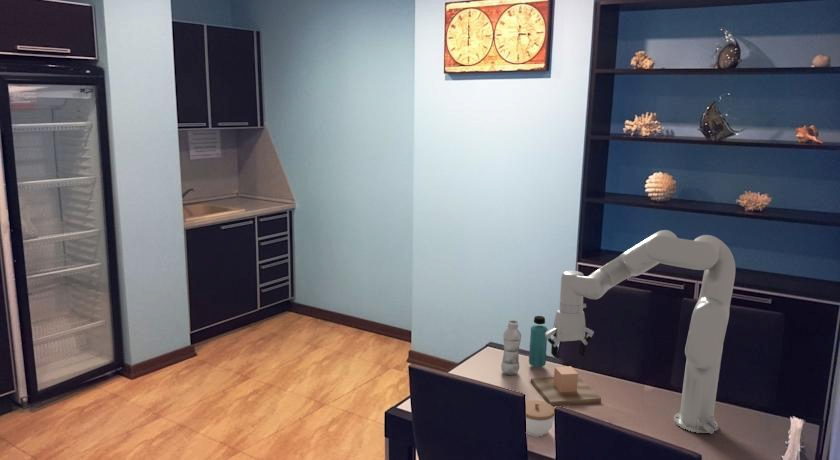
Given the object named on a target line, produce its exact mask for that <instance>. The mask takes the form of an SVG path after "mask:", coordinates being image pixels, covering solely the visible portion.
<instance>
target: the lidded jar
mask: <svg viewBox="0 0 840 460" xmlns="http://www.w3.org/2000/svg"><path fill="white" fill-rule="evenodd" d="M525 401H526V423H527V433H526V435H529V436H530V437H535V438H539V436H541V437H544V436H545V435H546V434H547V433H549V431H550V430H551V428H552V427H553V424H554V419H555V415H554V409H555V408H554V406H551V405H550V404H548V403H547V401H542V400H538V399H537V400H536V399H530V400H525ZM544 434H545V435H544ZM543 435H544V436H543Z"/></svg>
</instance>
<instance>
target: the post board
mask: <svg viewBox="0 0 840 460" xmlns="http://www.w3.org/2000/svg"><path fill="white" fill-rule="evenodd" d="M530 383H531V385H532V386H533V387H534V389H536V391H538V393H539V394H540V395H541V396H542V398H543V399H544V400H545V402H546V403H548V404H550V405H551V406H553V407H554V406H568V405H581V404H593V403H594V404H596V403H601V402H602V398H601V397H600V395H598V393H596V392H595V391H594V389H592V388H591V387H590V386H589V384H587V383H586V381H584V380H583V378H581V377H580V376H579V375H578V384H577V391H573V392H560V391H559V390H558V389H557V388H556V387H555V386H554V385H553V384H554V376H548V377H532V378H530Z"/></svg>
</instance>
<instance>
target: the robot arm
mask: <svg viewBox="0 0 840 460" xmlns="http://www.w3.org/2000/svg"><path fill="white" fill-rule="evenodd" d="M732 253H733V252H732V251H731V250H730V248H729V247H728V245H727V244H725V243H724V241H722V240H721V239H720V238H718V237H716V236H713V235H709V234H702V235H699V236H698V237H696V238H694V240H693V239H686V238H679V237H677V235H676V234H675V233H674V232H672V231H671V230H668V229H664V230H663V229H662V230H661V229H660V230H658V231H657V232H655V233H653V234H651V235H650V236H649V237H647V238H645V239H644V240H642V241H640V242H639V243H637V244H635V245H634V246H632V247H631V248H629V249H627V250H626V251H624V252H623V253H621V254H620V255H619V256H617V257H616V258H614V259H612V260H611V261H609V262H607V263H606V264H604V265H603V266H602V267H600V268H598V269H597V270H595V271H593V272H591V273H590V274H589V275H586V276H585V275H584V273H583V272H581V271H577V270H565V271H564V272H562V274H561V279H560V281H561V282H560V297H559V309H557V310H556V313H555V317H554V321H553V328H552V329H549V330H548V331H547V332H546V333H545V336H546V338H547V342H548V343H550V344H551V348H550V349H551V350H550V352H551V355H552V356H553V357H554V359H557V358H558V357H559V346H558V345H559V344H560V342H573V341H579V343H578V352H577V353H578V354H579V355H580V356H581V357H584V356H585V353H586V348H587V347H586V346H587V345H588V342H589V341H591V339H592V337H593V336H594V333H595V331H594V330H592V329H590V328H588V327H587V326H586V317H585V312H584V311H583V310H584V309H585V308H587V303H584V298H587V299H589V300H598V299H601V297H603V296H604V295H605V294H606V293H607V292H608V291H609V290H610V289H612V288H613V287H615V286H616V285H618V284H620V283H621V282H623V281H625V280H627V279H629V278H631V277H637V276H638V277H639V276H640V275H642V274H644V273H646V272H647V271H649V270H651V269H652V268H654V267H655V266H657V265H659V264H661V265H662V264H663V265H667V266H672V267H677V268H685V269H690V270H695V271H696V270H697V271H703V275H702V282H701V288H700V292H699V296H698V299H697V302H696V304H695V306H694V307H693V311H692V314H691V319H690V323H689V327H688V328H689V329H688V333H687V338H686V344H685V348H684V354H685V357H686V362H685V368H684V369H685V370H684V377H683V384H682V393H681V401H680V409H679V412H676V413H675V414H674V417H673V421H674V423H675V424H676V425H677V426H678V427H679V426H680V428H681V429H683V430H685V429H686V431H687V430H688V432H690V431H691V433H694V432H696V433H695V434H699V433H710V435H712V434H715V432H714V431H716V430H717V431H718V430H719V428H720V427H719V425H718V423H717V421H716V417H715V416H714V414H715V407H716V400H717V399H716V398H717V392H718V383H719V378H720V370H721V362H722V356H723V348H724V342H725V337H726V333H727V327H728V323H729V318H730V306H731V301H732V296H733V290H734V284H735V279H736V262H735V261H736V260H735V259H734V258H735V257H734V255H733V254H732ZM586 333H587V334H586ZM551 336H553V338H552V337H551ZM717 431H716V432H717Z"/></svg>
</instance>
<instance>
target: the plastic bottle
mask: <svg viewBox="0 0 840 460" xmlns="http://www.w3.org/2000/svg"><path fill="white" fill-rule="evenodd" d="M506 327H507V328H506V330H504V332H503V334H502V336H503V337H502V338H503V339H502V340H503V356H502V361H501V365H500V367H501V372H502V373H503V374H504V375H507V376H514V375H515V376H516V375H518V373H519V371H520V362H519V361H520V360H519V352H520V351H519V350H520V346H521V341H522V333H521V332H520V330H519V329H518V328H519V322H518V321H517V320H512V319H511V320H508V321H507V326H506Z"/></svg>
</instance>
